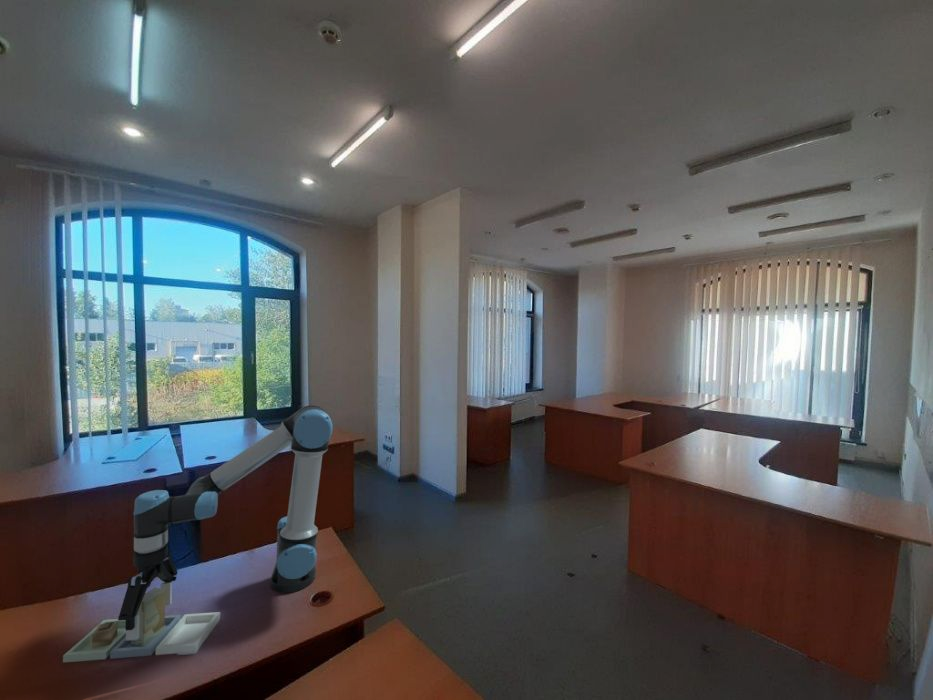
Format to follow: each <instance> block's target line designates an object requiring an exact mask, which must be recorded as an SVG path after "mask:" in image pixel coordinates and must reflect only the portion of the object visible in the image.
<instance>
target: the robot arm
mask: <svg viewBox="0 0 933 700" xmlns="http://www.w3.org/2000/svg"><path fill="white" fill-rule="evenodd" d="M333 429H334V427H333V422H332V419H331V417H330V416H329V414H328V413H327V412H326V410H324V409H323V408H322V407H320V406H318V405H312V404H310V405H305V406H303V407H301V408H299V410H297V411H296V412H294V413H293V414H291V415H290V416H289V417H287V418H286V419H285V420H283V421H281V424H280V426H278V428H276V429H275V430H273V431H271V432H270V433H269V434H267V435H265V436H264V437H262V438H261V439H259V440H258V441H257V442H254V443H253V444H252V445H250V446H249V447H247V448H245V449H244V450H242V451H241V452H239V453H238V454H236V455H235V456H233V457H232V458H231V459H229V460H227V461H226V462H224V463H223V464H222V465H220V466H219V467H217V468H215V469H213V471H211V472H209V473H208V474H206V475H205V476H202V477H198V478H197V479H196V480H195V481H194V482H192V483H191V485H190V486H189V488H188V490H187V492H186V493H185V494H183V495H178V496H177V495H176V496H170V495H169V491H168V490H164V489H156V490H155V489H154V490H150V491H146V492H144V493H141V494H140V495H138V496H137V497H136V498H135V500H134V505H133V507H134V509H133V512H132V513H133V514H132V515H133V551H134V552H133V557H132V558H133V562H132V563H133V566H134V567H135V568H137V569H138V570H137V574H136V575H134V576H130V577H129V578H128V579H127V588H126V592H125V595H124V597H123V602H122V605H121V608H120V612H119V615H118V618H117V619H118V620H119V621H120V620H126V626H125V629H126V641H127V640H137V639H138V638H139V614H137V612H138V610H139V607H140V605H141V602H142V600H143V597H144V595H145V593H147V589H148V588H150V586H151V584H152V582H153V581H154V580H155V579H156V578H158V579H159V580H160V581H161V583H160V589H164V590H166V601H165V606H170V605H172V603H173V597H172V596H173V594H172V593H173V582H175V581H176V580H177V574H178V569H177V567H176V565H175V562H174V560H173V558H172V552H171V551H169V550H168V549H169V548H168V547H169V544H168V542H169V525H172V524H173V525H174V524H178V523H179V524H180V523H187V522H193V521H201V520H206V519H209V518H213V517H215V516H216V514H217V512H218V505H219V497H218V496H219V494H221V493H223V492H224V491H225V490H227V489H228V488H229V487H232V486H233V485H234V484H236V483H237V482H238V481H240V480H241V479H242V478H245V477H246V476H248V474H250V473H252V472H253V471H255V470H256V469H257V468H259V467H261V466H262V465H264V464H265V463H266V462H268V461H269V460H271V459H272V458H274V457H276V456H277V455H278V454H279V453H280V452H282V451H283V450H285V449H287V448H288V447H290V451H292V452H293V453H294V454H295V455H294V461H293V469H292V477H291V486H290V491H289V492H290V493H289V500H288V508H287V516H284V517H281V518H280V519H279V520H278V522H277V527H276V530H277V531H276V532H277V534H276V535H277V537H276V562H275V565H274V568H273V570H272V573H271V577H270V581H269V583H270V585H269V586H270V588H271V590H273V592H276V593H280V594H281V593H282V594H286V593H288V594H289V593H294V592H299V591H300V590H303V589H305V588H307V587H308V586H310V585H311V584H312V583H314V581H313V580H315V579H316V577H317V568H316V566H315V565H316V563H317V558H318V552H317V540H318V533H319V529H318V527H317V526H316V525H315V518H316V509H317V502H318V496H319V495H318V494H319V487H320V480H321V470H322V464H323V463H322V461H323V455H324V454H325V453H326V452H328V450H329V444H330V438H331V436H332V434H333ZM315 576H316V577H315Z"/></svg>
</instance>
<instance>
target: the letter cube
mask: <svg viewBox="0 0 933 700" xmlns="http://www.w3.org/2000/svg"><path fill="white" fill-rule="evenodd" d="M99 624H100V623H99ZM99 624H98V625H99ZM98 625H97V626H98ZM97 626H96V627H97ZM117 629H118V621H114V622H109V623H104V624H100V625H99V626H98V627H97V629H96V630H95V631H94V633H93V634H92V649H93V648H98V647H102V646H107V645H110V644H111V643H112V642H113V640H114V639H115V637H116V636H117Z"/></svg>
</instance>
